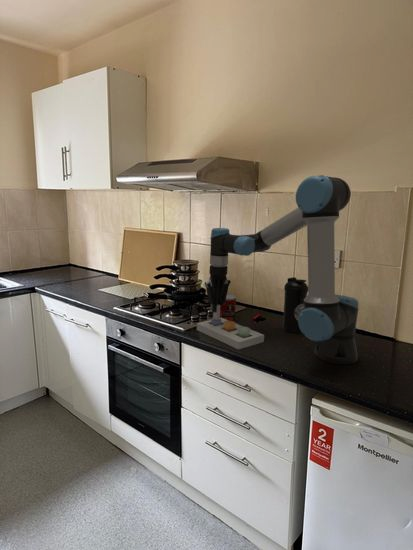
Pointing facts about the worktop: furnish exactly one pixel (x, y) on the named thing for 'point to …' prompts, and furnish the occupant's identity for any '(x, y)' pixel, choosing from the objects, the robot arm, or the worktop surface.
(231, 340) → the console
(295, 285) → the water bottle
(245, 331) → the button sage
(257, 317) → the worktop surface
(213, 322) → the button slate
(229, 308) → the canned food
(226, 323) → the button orange
